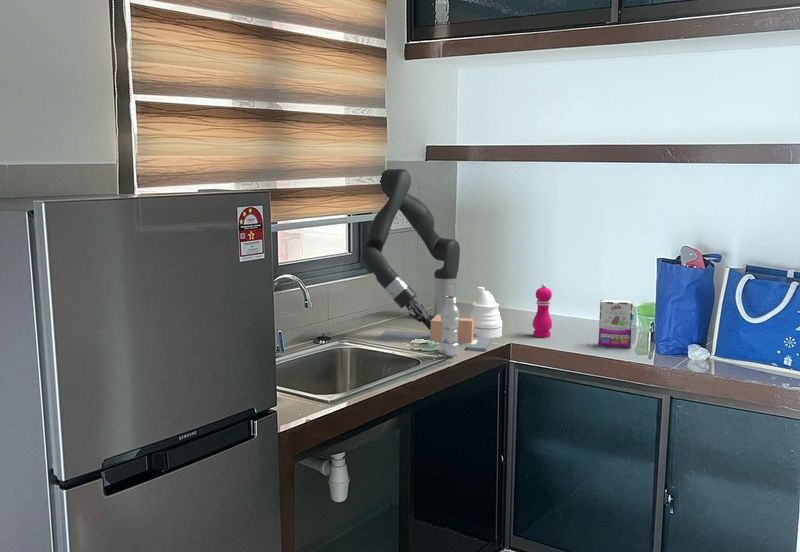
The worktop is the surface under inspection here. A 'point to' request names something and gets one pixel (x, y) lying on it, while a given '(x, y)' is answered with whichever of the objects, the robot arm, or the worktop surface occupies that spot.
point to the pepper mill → (542, 313)
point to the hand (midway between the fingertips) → (432, 327)
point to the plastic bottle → (449, 328)
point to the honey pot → (486, 316)
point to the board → (407, 337)
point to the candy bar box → (615, 323)
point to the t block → (463, 330)
